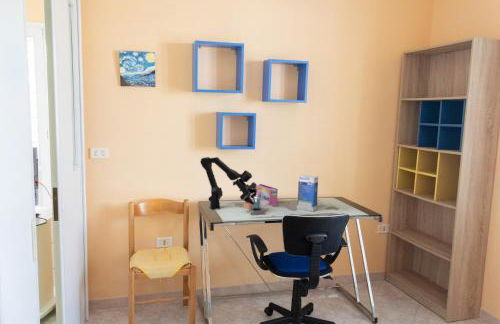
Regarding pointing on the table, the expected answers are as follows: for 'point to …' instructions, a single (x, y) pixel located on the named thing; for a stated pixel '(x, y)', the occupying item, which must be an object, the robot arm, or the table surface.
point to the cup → (248, 205)
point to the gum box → (267, 195)
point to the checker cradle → (256, 212)
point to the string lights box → (307, 192)
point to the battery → (256, 203)
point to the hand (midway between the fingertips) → (256, 202)
